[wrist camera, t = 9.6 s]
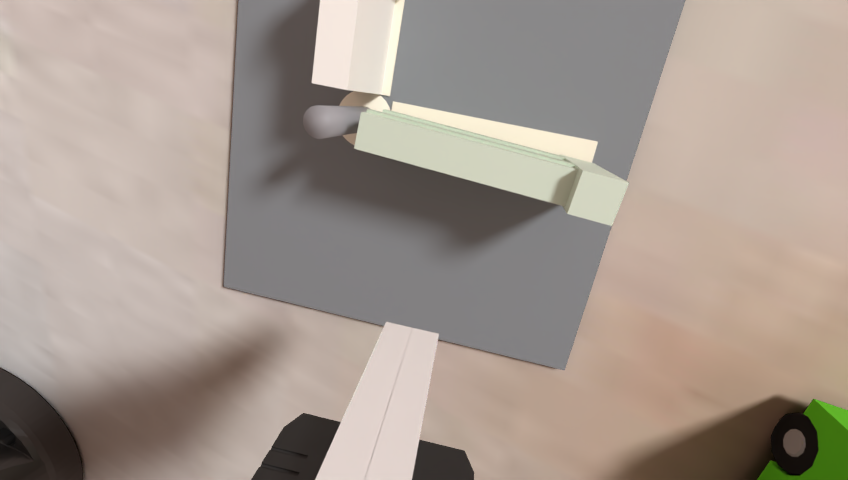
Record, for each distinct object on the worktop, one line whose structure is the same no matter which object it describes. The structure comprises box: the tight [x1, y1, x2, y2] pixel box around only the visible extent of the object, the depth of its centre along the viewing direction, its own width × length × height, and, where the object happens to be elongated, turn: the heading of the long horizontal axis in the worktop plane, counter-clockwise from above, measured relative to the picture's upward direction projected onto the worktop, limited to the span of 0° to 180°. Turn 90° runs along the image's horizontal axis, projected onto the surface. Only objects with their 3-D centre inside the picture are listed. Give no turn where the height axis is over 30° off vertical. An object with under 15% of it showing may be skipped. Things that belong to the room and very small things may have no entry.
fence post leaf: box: [303, 0, 396, 139], centre depth 19 cm, size 2×8×7 cm, turn 169°
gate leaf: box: [354, 109, 629, 226], centre depth 19 cm, size 10×2×6 cm, turn 76°
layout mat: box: [224, 0, 685, 370], centre depth 22 cm, size 20×20×1 cm
